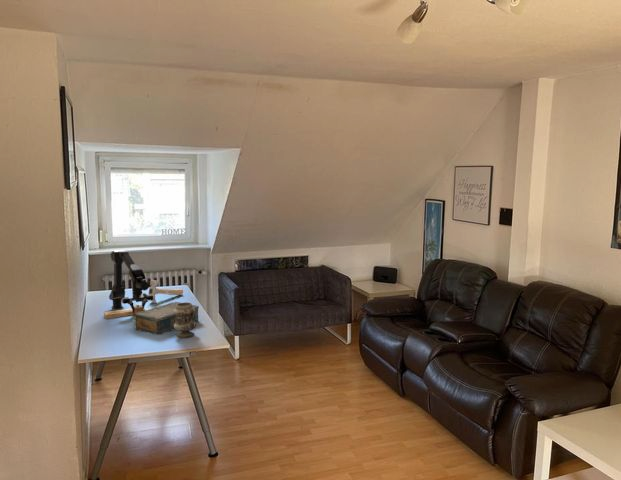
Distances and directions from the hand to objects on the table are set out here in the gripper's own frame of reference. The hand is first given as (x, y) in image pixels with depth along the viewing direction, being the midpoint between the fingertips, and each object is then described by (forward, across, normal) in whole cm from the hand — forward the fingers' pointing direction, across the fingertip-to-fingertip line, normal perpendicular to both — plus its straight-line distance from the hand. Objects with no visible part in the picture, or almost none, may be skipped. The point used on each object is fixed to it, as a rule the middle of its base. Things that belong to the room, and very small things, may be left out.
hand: (138, 312), depth 313 cm
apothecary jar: (+2, +13, -56) cm, 58 cm away
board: (+2, -7, +6) cm, 10 cm away
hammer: (+2, +27, +33) cm, 43 cm away
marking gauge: (+1, 0, +2) cm, 3 cm away
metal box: (+3, +10, -31) cm, 33 cm away
